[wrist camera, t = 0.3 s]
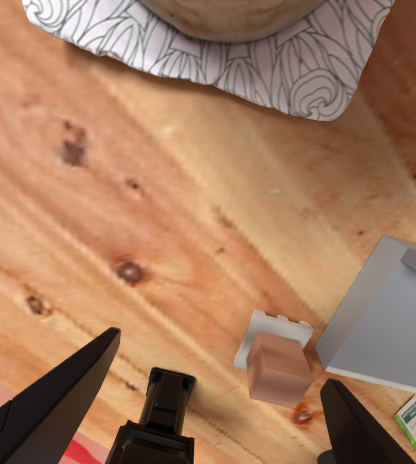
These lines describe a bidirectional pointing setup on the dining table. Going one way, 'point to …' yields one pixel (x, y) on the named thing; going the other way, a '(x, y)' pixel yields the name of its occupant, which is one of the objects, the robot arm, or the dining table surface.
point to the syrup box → (408, 420)
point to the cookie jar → (232, 44)
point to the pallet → (275, 359)
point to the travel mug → (327, 458)
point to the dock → (377, 321)
